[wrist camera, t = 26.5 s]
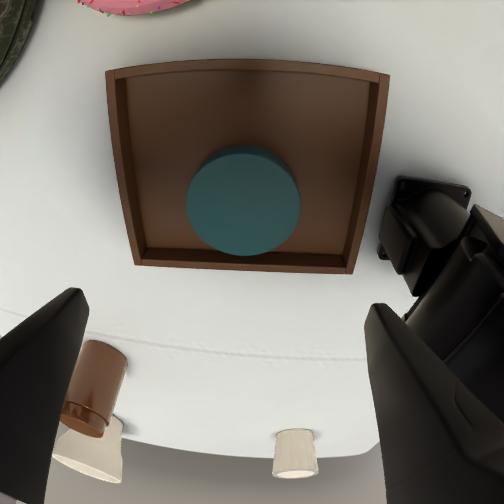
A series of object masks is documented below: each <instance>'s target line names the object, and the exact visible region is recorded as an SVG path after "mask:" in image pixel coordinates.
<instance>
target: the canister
mask: <svg viewBox="0 0 504 504" xmlns="http://www.w3.org/2000/svg"><path fill="white" fill-rule="evenodd" d="M35 2H36V0H0V81H1V80H2V79H3V77H4V76H5V75H6V74H7V73H8V71H9V69H10V68H11V66H12V65H13V63H14V61H15V60H16V58H17V57H18V54H19V52H20V50H21V48H22V46H23V44H24V42H25V40H26V38H27V35H28V33H29V30H30V27H31V25H32V22H33V20H32V19H31V16H32V12H33V9H34V5H35Z"/></svg>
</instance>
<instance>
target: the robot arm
mask: <svg viewBox="0 0 504 504" xmlns="http://www.w3.org/2000/svg"><path fill="white" fill-rule="evenodd" d="M401 182H405V183H404V185H403V186H400V184H401ZM465 192H466V194H465V195H464V193H465ZM470 197H471V190H470V189H469V188H468V187H466V186H463V185H457V184H452V183H446V182H440V181H434V180H428V179H422V178H415V177H408V176H399V177H397V178H396V180H395V182H394V187H393V191H392V196H391V200H390V204H389V205H388V206H387V207H386V210H385V214H384V218H383V222H382V226H381V230H380V234H379V239H380V242H379V246H378V250H377V254H378V257H379V258H380V259H381V260H390V261H391V263H392V265H393V267H394V269H395V271H396V273H397V274H398V275H403V277H404V279H405V281H406V283H407V285H408V288H409V290H410V292H411V294H412V296H414V297H419V298H418V299H417V300H416V302H415V303H414V305H413V306H412V307H411V309H410V310H409V311H408V313H405V314H404V316H403V317H402V318H400V317H399V316H398V315H397V314H396V313H395V312H394V311H393V310H392V309H391V308H390V307H389V306H388V305H387V304H385V303H374V304H372V305H371V307H370V310H369V313H368V315H367V318H366V321H365V325H364V331H365V341H366V351H367V363H368V373H369V379H370V384H371V390H372V395H373V401H374V406H375V412H376V418H377V425H378V431H379V438H380V445H381V452H382V460H383V467H384V476H385V486H386V498H387V504H504V219H502V218H501V217H499V216H497V215H495V214H493V213H492V212H490V211H488V210H486V209H484V208H482V207H480V206H479V205H477V204H474V205H473V207H472V209H471V210H470V213H471V214H469V213H468V212H467V211H466V209H467V206H468V203H469V200H470ZM383 252H386V253H384V254H382V253H383ZM88 316H89V306H88V303H87V301H86V298H85V296H84V294H83V291H82V290H81V289H80V288H73V287H71V288H68V289H67V290H65V291H64V292H62V293H61V294H60V295H58V296H57V297H55V298H54V299H53V300H51V301H50V302H48V303H47V304H46V305H44V306H43V307H42V308H40V309H39V310H38V311H36V312H35V313H33V314H32V315H31V316H29V317H28V318H27V319H25V320H24V321H23V322H21V323H20V324H19V325H18V326H16V327H15V328H14V329H12V330H11V331H10V332H8V333H7V334H6V335H5V336H3V337H2V338H1V339H0V504H16V500H19V501H22V502H24V503H27V504H44V497H45V491H46V485H47V479H48V473H49V467H50V462H51V456H52V452H53V447H54V442H55V438H56V434H57V429H58V425H59V421H60V417H61V413H62V410H63V406H64V402H65V399H66V395H67V392H68V388H69V385H70V381H71V378H72V375H73V372H74V368H75V365H76V362H77V359H78V356H79V352H80V349H81V344H82V340H83V336H84V332H85V328H86V324H87V320H88Z"/></svg>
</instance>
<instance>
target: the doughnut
mask: <svg viewBox="0 0 504 504" xmlns="http://www.w3.org/2000/svg"><path fill="white" fill-rule="evenodd" d="M80 1H81V2H82V5H84V4H85V5H87V7H91V8H93V9H95V10H98V11H100V12H102V13H108V15H107V16H109V15H110V14H114V15H121V16H123V15H138V14H146V13H150V14H152V12H157V11H161V10H165V9H169V8H172V7H175V6H177V5H180V4H182V3H185V2H187V1H189V0H78V3H80Z"/></svg>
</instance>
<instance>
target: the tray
mask: <svg viewBox="0 0 504 504" xmlns="http://www.w3.org/2000/svg"><path fill="white" fill-rule="evenodd" d="M105 76H106V91H107V103H108V114H109V123H110V132H111V140H112V148H113V155H114V162H115V169H116V175H117V181H118V187H119V193H120V199H121V204H122V209H123V214H124V219H125V224H126V229H127V234H128V238H129V243H130V247H131V252H132V256H133V260H134V264H135V265H139V266H142V265H143V266H157V267H176V268H195V269H216V270H238V271H263V272H289V273H319V274H353V271H354V267H355V263H356V260H357V256H358V252H359V248H360V244H361V240H362V236H363V231H364V227H365V223H366V219H367V214H368V210H369V205H370V200H371V195H372V191H373V186H374V181H375V175H376V170H377V165H378V159H379V153H380V147H381V141H382V135H383V128H384V121H385V114H386V106H387V98H388V90H389V81H390V75H387V74H383V73H378V72H372V71H367V70H361V69H356V68H349V67H343V66H336V65H328V64H320V63H310V62H300V61H286V60H268V59H207V60H188V61H175V62H165V63H155V64H147V65H140V66H133V67H126V68H120V69H114V70H109V71H106V72H105ZM235 145H251V146H257V147H261V148H264V149H266V150H269V151H270V152H272V153H274V154H276V155H277V156H278V157H280V158H281V159H282V160H283V161H284V162H285V163H286V164H287V165H288V167H289V168H290V169H291V171H292V173H293V175H294V177H295V180H296V183H297V188H298V192H299V196H300V204H301V211H300V216H299V220H298V222H297V225H296V227H295V229H294V231H293V232H292V233H291V235H290V236H289V237H288V238H287V239H286V240H285V241H284V242H283V243H282V244H280V245H279V246H277V247H276V248H274V249H272V250H270V251H268V252H265V253H262V254H257V255H250V256H239V255H232V254H228V253H225V252H222V251H219V250H217V249H215V248H213V247H212V246H210V245H208V244H207V243H206V242H205V241H203V240H202V239H201V238H200V237H199V236H198V235H197V233H196V232H195V231H194V229H193V227H192V226H191V224H190V222H189V219H188V216H187V212H186V194H187V190H188V187H189V185H190V183H191V181H192V179H193V177H194V175H195V173H196V172H197V170H198V168H199V167H200V165H201V164H202V163H203V162H204V161H205V160H206V159H207V158H208V157H209V156H211V155H212V154H213V153H215V152H217V151H219V150H221V149H223V148H226V147H230V146H235Z"/></svg>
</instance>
